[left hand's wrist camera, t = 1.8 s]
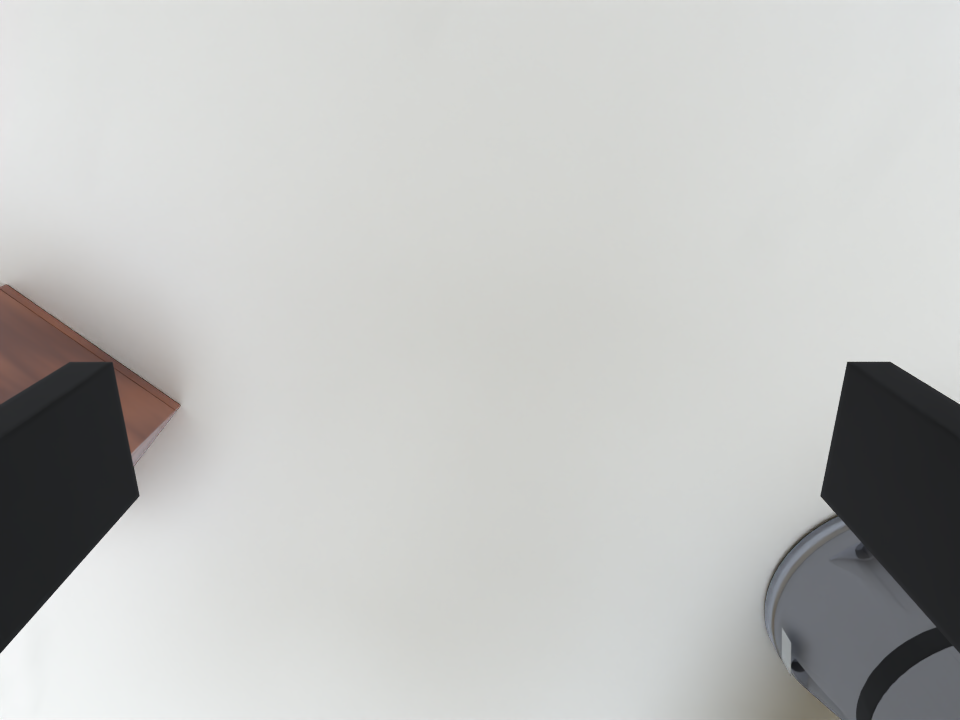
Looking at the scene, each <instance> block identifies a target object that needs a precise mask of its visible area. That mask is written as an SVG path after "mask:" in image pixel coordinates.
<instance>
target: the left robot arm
mask: <svg viewBox="0 0 960 720" xmlns="http://www.w3.org/2000/svg"><path fill="white" fill-rule="evenodd" d="M138 497H139V491H138V486H137V481H136V476H135V471H134V466H133V461H132V456H131V451H130V446H129V441H128V436H127V431H126V426H125V421H124V416H123V411H122V406H121V401H120V396H119V391H118V386H117V381H116V376H115V371H114V366H113V362H69V363H67V364H66V365H64V366H62V367H61V368H59V369H57V370H56V371H54V372H52V373H51V374H49V375H48V376H46V377H44V378H43V379H41V380H39V381H38V382H36V383H34V384H33V385H31V386H30V387H28V388H26V389H25V390H23V391H21V392H20V393H18V394H16V395H15V396H13V397H12V398H10V399H8V400H7V401H5V402H3V403H2V404H0V653H1V652H2V651H3V650H4V649H5V648H6V646H7V645H8V644H9V643H10V642H11V641H12V640H13V638H14V637H15V636H16V635H17V634H18V633H19V632H20V631H21V629H22V628H23V627H24V626H25V625H26V624H27V623H28V622H29V620H30V619H31V618H32V617H33V616H34V615H35V614H36V612H37V611H38V610H39V609H40V608H41V607H42V606H43V605H44V603H45V602H46V601H47V600H48V599H49V598H50V597H51V596H52V594H53V593H54V592H55V591H56V590H57V589H58V588H59V586H60V585H61V584H62V583H63V582H64V581H65V580H66V579H67V577H68V576H69V575H70V574H71V573H72V572H73V571H74V570H75V568H76V567H77V566H78V565H79V564H80V563H81V562H82V560H83V559H84V558H85V557H86V556H87V555H88V554H89V553H90V551H91V550H92V549H93V548H94V547H95V546H96V545H97V543H98V542H99V541H100V540H101V539H102V538H103V537H104V536H105V534H106V533H107V532H108V531H109V530H110V529H111V528H112V527H113V525H114V524H115V523H116V522H117V521H118V520H119V519H120V517H121V516H122V515H123V514H124V513H125V512H126V511H127V510H128V508H129V507H130V506H131V505H132V504H133V503H134V502H135V501H136V499H137V498H138ZM821 497H822V498H823V499H824V501H825V502H826V503H827V504H828V505H829V506H830V507H831V508H832V510H833V511H834V512H835V513H836V514H837V515H838V516H839V517H840V519H841V520H842V521H843V522H844V523H845V524H846V525H847V527H848V528H849V529H850V530H851V531H852V532H853V533H854V534H855V536H856V537H857V538H858V539H859V540H860V541H861V542H862V543H863V545H864V546H865V547H866V548H867V549H868V550H869V551H870V553H871V554H872V555H873V556H874V557H875V558H876V559H877V560H878V562H879V563H880V564H881V565H882V566H883V567H884V568H885V570H886V571H887V572H888V573H889V574H890V575H891V576H892V577H893V579H894V580H895V581H896V582H897V583H898V584H899V585H900V586H901V588H902V589H903V590H904V591H905V592H906V593H907V594H908V596H909V597H910V598H911V599H912V600H913V601H914V602H915V603H916V605H917V606H918V607H919V608H920V609H921V610H922V611H923V612H924V614H925V615H926V616H927V617H928V618H929V619H930V620H931V622H932V623H933V624H934V625H935V626H936V627H937V628H938V629H939V631H940V632H941V633H942V634H943V635H944V636H945V637H946V638H947V640H948V641H949V642H950V643H951V644H952V645H953V646H954V648H955V649H956V650H957V651H958V652H959V653H960V404H958V403H957V402H955V401H953V400H952V399H950V398H948V397H947V396H945V395H943V394H942V393H940V392H939V391H937V390H935V389H934V388H932V387H930V386H929V385H927V384H926V383H924V382H922V381H921V380H919V379H917V378H916V377H914V376H912V375H911V374H909V373H908V372H906V371H904V370H903V369H901V368H899V367H898V366H896V365H894V364H893V363H891V362H847V366H846V371H845V376H844V381H843V386H842V391H841V396H840V401H839V406H838V411H837V416H836V421H835V426H834V431H833V436H832V441H831V446H830V451H829V456H828V461H827V466H826V471H825V476H824V481H823V486H822V491H821Z"/></svg>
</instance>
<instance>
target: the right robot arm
mask: <svg viewBox="0 0 960 720" xmlns="http://www.w3.org/2000/svg"><path fill="white" fill-rule="evenodd" d="M765 623H766V628H767V631H768V635H769V637H770V639H771V642H772V644H773V645H774V647H775V649H776V651H777V653H778V655H779V656H780V658H781V660H782V661H783V663H784V665H785V666H786V668H787V670H788V672H789V674H790V676H791V673H792V674H793V676H794V677H795V678H796V679H797V680H798V681H799V682H800V683H801V684H802V685H803V686H804V687H805V688H806V689H807V690H808V691H810V692H811V693H812V694H813V695H814V696H815V697H816V698H817V699H819V700H820V701H821V702H822V703H823V704H824V705H825V706H826V707H828V708H829V709H830V710H831V711H832V712H833V713H834V714H836V715H837V716H838V717H839V718H840V719H841V720H960V653H959V652H958V651H957V650H956V649H955V648H954V646H953V645H952V644H951V643H950V642H949V641H948V640H947V638H946V637H945V636H944V635H943V634H942V633H941V632H940V631H939V629H938V628H937V627H936V626H935V625H934V624H933V623H932V622H931V620H930V619H929V618H928V617H927V616H926V615H925V614H924V612H923V611H922V610H921V609H920V608H919V607H918V606H917V605H916V603H915V602H914V601H913V600H912V599H911V598H910V597H909V596H908V594H907V593H906V592H905V591H904V590H903V589H902V588H901V586H900V585H899V584H898V583H897V582H896V581H895V580H894V579H893V577H892V576H891V575H890V574H889V573H888V572H887V571H886V570H885V568H884V567H883V566H882V565H881V564H880V563H879V562H878V560H877V559H876V558H875V557H874V556H873V555H872V554H871V553H870V551H869V550H868V549H867V548H866V547H865V546H864V545H863V543H862V542H861V541H860V540H859V539H858V538H857V537H856V536H855V534H854V533H853V532H852V531H851V530H850V529H849V528H848V527H847V525H846V524H845V523H844V522H843V521H842V520H841V519H840V517H839V516H838V517H836V518H833V519H831V520H829V521H828V522H826V523H824V524H823V525H821V526H819V527H818V528H816V529H815V530H814V531H812V532H811V533H809V534H808V535H807V536H806V537H804V538H803V539H802V540H801V541H800V542H799V543H798V544H797V545H796V546H795V547H794V548H793V549H792V550H791V551H790V552H789V553H788V554H787V556H786V557H785V558H784V560H783V561H782V562H781V564H780V565H779V567H778V569H777V570H776V572H775V574H774V576H773V578H772V580H771V582H770V585H769V588H768V591H767V596H766V600H765Z"/></svg>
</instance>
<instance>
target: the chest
mask: <svg viewBox="0 0 960 720" xmlns="http://www.w3.org/2000/svg"><path fill="white" fill-rule="evenodd" d="M69 362H113V366H114V371H115V376H116V381H117V386H118V391H119V396H120V401H121V406H122V411H123V416H124V421H125V426H126V431H127V436H128V441H129V446H130V451H131V456H132V461H133V466H134V465H135V464H136V463H137V462H138V460H139V459H140V458H141V456H142V455H143V454H144V452H145V451H146V450H147V449H148V447H149V446H150V445H151V443H152V442H153V441H154V439H155V438H156V437H157V436H158V434H159V433H160V432H161V430H162V429H163V428H164V426H165V425H166V424H167V423H168V421H169V420H170V419H171V417H172V416H173V415H174V413H175V412H176V411H177V410H178V408H179V407H180V405H179V404H178V403H177V402H175V401H174V400H172V399H171V398H169V397H168V396H166V395H165V394H164V393H162V392H161V391H159V390H158V389H156V388H155V387H153V386H152V385H151V384H149V383H148V382H146V381H145V380H143V379H142V378H141V377H139V376H138V375H136V374H135V373H133V372H132V371H130V370H129V369H128V368H126V367H125V366H123V365H122V364H120V363H119V362H117V361H116V360H115V359H113V358H112V357H110V356H109V355H107V354H106V353H105V352H103V351H102V350H100V349H99V348H97V347H96V346H94V345H93V344H92V343H90V342H89V341H87V340H86V339H84V338H83V337H81V336H80V335H79V334H77V333H76V332H74V331H73V330H71V329H70V328H69V327H67V326H66V325H64V324H63V323H61V322H60V321H58V320H57V319H56V318H54V317H53V316H51V315H50V314H48V313H47V312H46V311H44V310H43V309H41V308H40V307H38V306H37V305H35V304H34V303H33V302H31V301H30V300H28V299H27V298H25V297H24V296H22V295H21V294H20V293H18V292H17V291H15V290H14V289H12V288H11V287H10V286H8V285H4V286H1V287H0V404H2V403H3V402H5V401H7V400H8V399H10V398H12V397H13V396H15V395H16V394H18V393H20V392H21V391H23V390H25V389H26V388H28V387H30V386H31V385H33V384H34V383H36V382H38V381H39V380H41V379H43V378H44V377H46V376H48V375H49V374H51V373H52V372H54V371H56V370H57V369H59V368H61V367H62V366H64V365H66V364H67V363H69Z"/></svg>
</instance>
